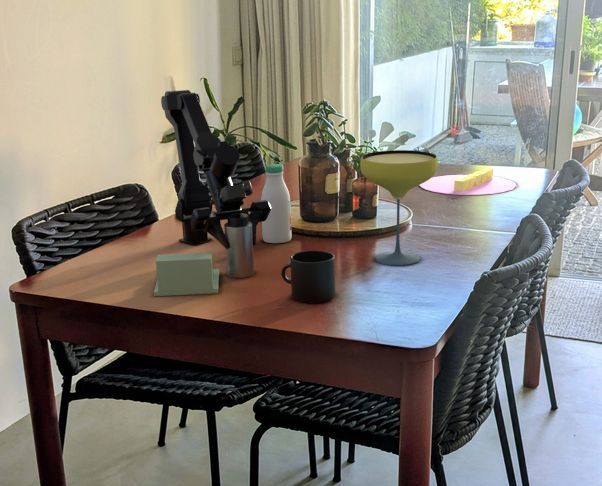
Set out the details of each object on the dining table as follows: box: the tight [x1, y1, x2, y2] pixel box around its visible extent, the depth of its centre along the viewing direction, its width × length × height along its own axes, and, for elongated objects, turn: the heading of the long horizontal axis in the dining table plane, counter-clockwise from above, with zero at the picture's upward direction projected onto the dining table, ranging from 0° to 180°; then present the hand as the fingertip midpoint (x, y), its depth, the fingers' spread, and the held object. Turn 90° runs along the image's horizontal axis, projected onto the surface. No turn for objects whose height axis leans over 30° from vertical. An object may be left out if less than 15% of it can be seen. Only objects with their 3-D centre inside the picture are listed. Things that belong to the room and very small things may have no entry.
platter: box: [419, 168, 517, 196], centre depth 289 cm, size 32×32×3 cm
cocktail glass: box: [359, 149, 439, 267], centre depth 206 cm, size 18×18×25 cm
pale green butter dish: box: [153, 252, 220, 297], centre depth 196 cm, size 15×14×8 cm
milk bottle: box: [260, 163, 292, 244], centre depth 227 cm, size 8×8×20 cm
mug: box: [280, 249, 336, 304], centre depth 186 cm, size 9×12×9 cm
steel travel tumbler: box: [223, 213, 255, 279], centre depth 201 cm, size 6×6×14 cm
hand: (241, 246), depth 199 cm, fingers closed on steel travel tumbler, 6 cm apart
